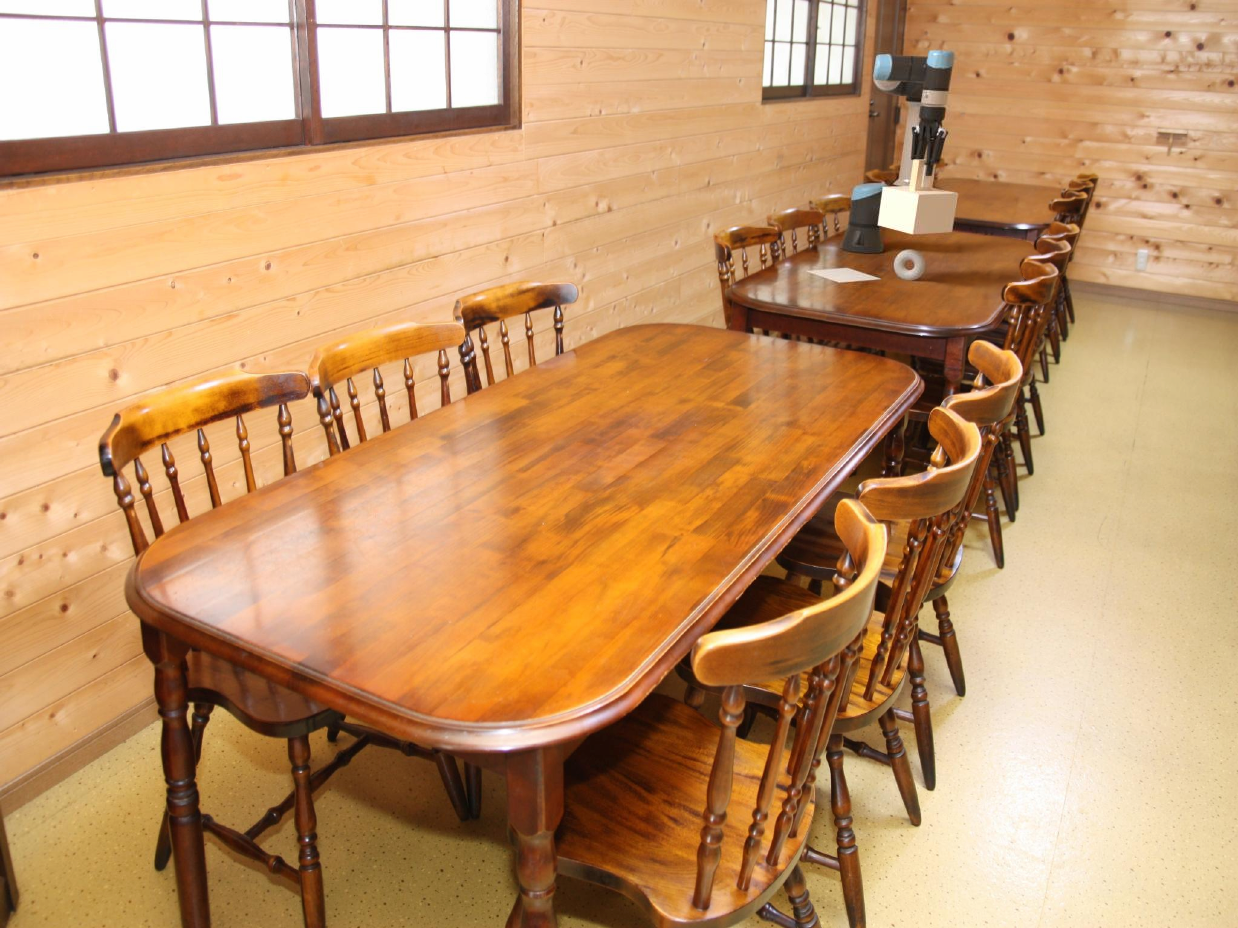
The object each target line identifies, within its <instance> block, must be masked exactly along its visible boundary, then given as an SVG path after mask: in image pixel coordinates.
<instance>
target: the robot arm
mask: <svg viewBox="0 0 1238 928" xmlns="http://www.w3.org/2000/svg"><path fill="white" fill-rule="evenodd" d="M954 59H955V52H954V51H953V50H941V49H940V50H939V49H938V50H937V49H931V50H930V51H929V52H928V55H926V56H924V55H922V56H921V55H903V54H890V53H886V54H878V55H876V57H875V61H874V62H875V63H874V69H873V73H872V81H873V83H874V85H875V87H876V88H877V89H878V90H880V91H881V92H884V93H886V94H888V95H891V96H899V97H905V104H906V106H907V107H908V113H907V119H906V127H905V133H904V138H903V139H904V140H903V147H902V154H901V160H900V169H899V173H898V174H899V175H898V179H896V180H895V181H894V182H893V186H892V187H896V186H910V180H911V173H912V166H913V160H914V159H927V160H926V163H924V164H925V165H924V168H923V175H922V181H921V187H929V183H930V177H931V176H932V172H933V166H934V165H935V164H936V165H937V164H938V165H939V164H940V163H941V157H942V153H943V150H944V146H945V141H946V138H947V136H948V135H949V131H948V130H945V129H944V128H943V121H944V120H945V118H946V112H947V108H946V106H947V104H948V100H949V93H950V85H951V80H952V74H953V67H954V63H955V61H954ZM883 187H888V185H887V183H884V182H882V183H881V182H873V183H872V182H871V183H863V184H857V185H855V186H854V187H853V189H852V195H851V198H850V201H851V202H850V211H849V216H848V217H849V218H848V224H847V228H846V230H845V233H844V235H843V237H842V240H841V241H840V247H839V248H840V249H841V250H843V251H846V252H851V253H852V252H853V253H860V254H878V253H879V254H880V253H882V252H884V243H883V236H882V235H883V234H882V226H879V225H878V219H879V212H880V205H881V198H882V191H883Z"/></svg>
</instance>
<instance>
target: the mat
mask: <svg viewBox="0 0 1238 928" xmlns="http://www.w3.org/2000/svg"><path fill="white" fill-rule="evenodd" d="M806 272H807V273H809V274H813V275H817V276H819V277H821V278H824V279H827V280H831V281H834V282H836V283H840V284H841V283H849V282H850V283H851V282H852V283H853V282H863V281H877V280H881V278H880V277H876V276H874V275H870V274H867V273H865V272H861V271H858V270H855V269H852V268H849V267H840V268H827V269H816V270H815V269H813V270H806Z"/></svg>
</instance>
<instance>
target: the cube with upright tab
mask: <svg viewBox="0 0 1238 928" xmlns="http://www.w3.org/2000/svg"><path fill="white" fill-rule="evenodd" d="M926 160H927V159H914V160H913V166H912V173H911V180H910V186H896V187H893V186H887V187H883V191H882V198H881V205H880V212H879V219H878V225H879V226H881V227H883V228H887V229H891V230H895V231H899V232H903V233H906V234H909V235H924V234H941V233H952V232H953V227H954V221H955V216H956V209H957V204H958V203H957V202H958V197H959V192H955V191H950V190H944V189H940V188H935V187H933V185H934V178H935V171H936V165H937V164H935V165H934V166H933V172H932V176H931V177H930V183H929V187H921V181H922V175H923V168H924V165H925V164H924V163H926Z"/></svg>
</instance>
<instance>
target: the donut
mask: <svg viewBox="0 0 1238 928" xmlns="http://www.w3.org/2000/svg"><path fill="white" fill-rule="evenodd" d="M908 261H912V262H913V264H914V267H913V268H912V269H907V268H906V265H905V264H906V262H908ZM893 269H894V273H895V274H896V276H897V277H898V278H900V279H902V280H906V281H916V280H917V279H919V278H920V277H922V275H923V274H924V272H925V270H926V260H925V257H924V256H923V254H922V253H921V252H919V251H918V250H915V249H910V248H909V249H904V250H902V251H901V252H899V253H898V254H897V256H895V258H894V262H893Z"/></svg>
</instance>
